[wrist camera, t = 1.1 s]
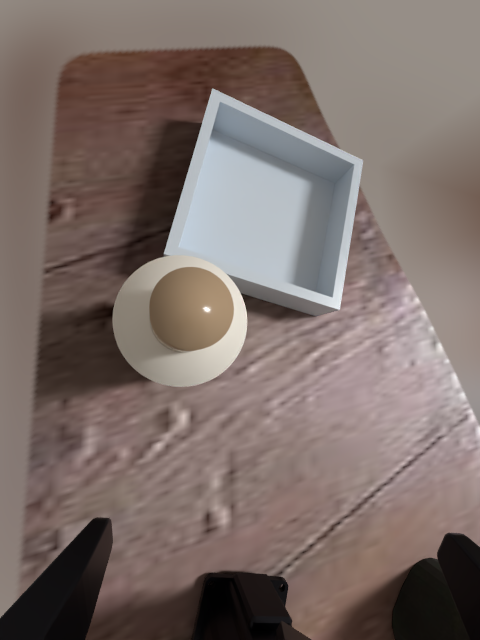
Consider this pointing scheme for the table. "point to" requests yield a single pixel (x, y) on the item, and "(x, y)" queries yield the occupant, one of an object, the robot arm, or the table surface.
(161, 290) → the dressing bottle
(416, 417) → the table surface
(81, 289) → the table surface
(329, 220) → the bin
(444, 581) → the sushi
